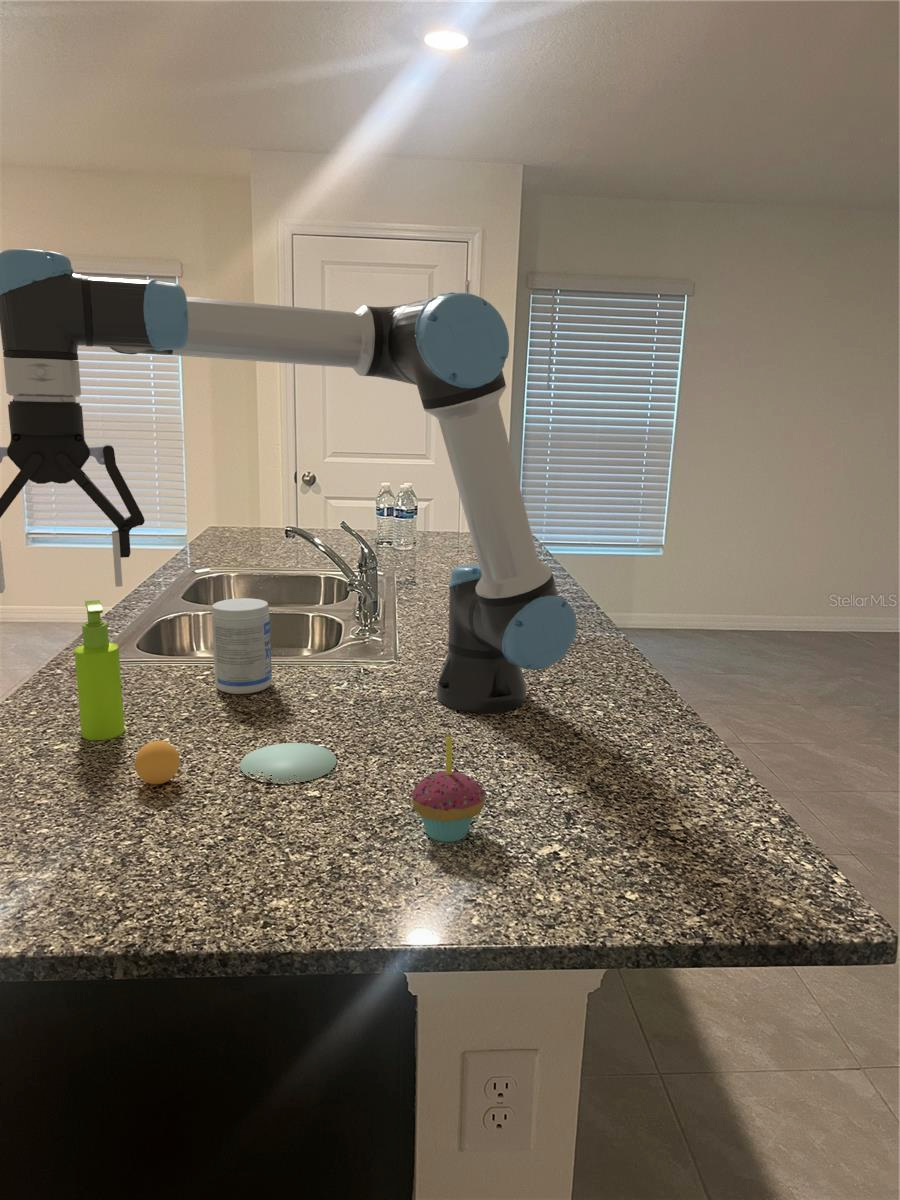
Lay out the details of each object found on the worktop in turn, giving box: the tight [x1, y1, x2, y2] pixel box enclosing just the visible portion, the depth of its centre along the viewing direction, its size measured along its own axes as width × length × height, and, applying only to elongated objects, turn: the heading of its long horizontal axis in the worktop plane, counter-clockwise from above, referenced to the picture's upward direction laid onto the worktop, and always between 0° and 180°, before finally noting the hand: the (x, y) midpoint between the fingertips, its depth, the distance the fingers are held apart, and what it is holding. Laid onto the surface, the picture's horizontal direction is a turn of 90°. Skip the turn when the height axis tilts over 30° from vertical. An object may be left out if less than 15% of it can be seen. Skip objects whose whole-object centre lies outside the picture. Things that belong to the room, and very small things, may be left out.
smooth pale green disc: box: [239, 742, 337, 783], centre depth 115 cm, size 13×13×1 cm
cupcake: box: [411, 729, 486, 843], centre depth 96 cm, size 9×8×12 cm
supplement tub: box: [211, 597, 273, 695], centre depth 142 cm, size 10×10×15 cm
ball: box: [134, 740, 181, 785], centre depth 108 cm, size 6×6×6 cm
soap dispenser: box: [73, 599, 125, 741], centre depth 120 cm, size 6×7×20 cm
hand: (61, 587), depth 98 cm, fingers open, 12 cm apart
